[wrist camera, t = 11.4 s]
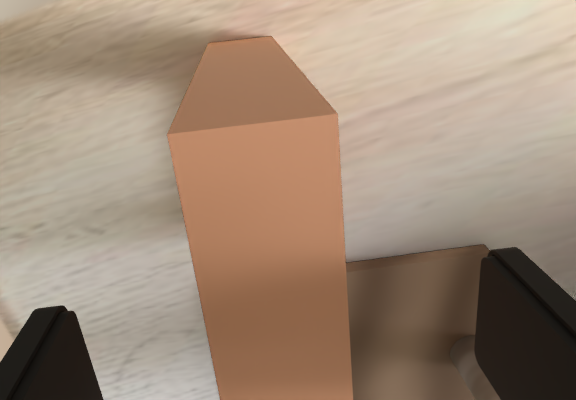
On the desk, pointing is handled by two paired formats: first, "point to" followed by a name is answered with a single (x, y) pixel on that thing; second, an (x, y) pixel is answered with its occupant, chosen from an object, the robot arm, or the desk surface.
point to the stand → (416, 326)
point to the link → (265, 223)
